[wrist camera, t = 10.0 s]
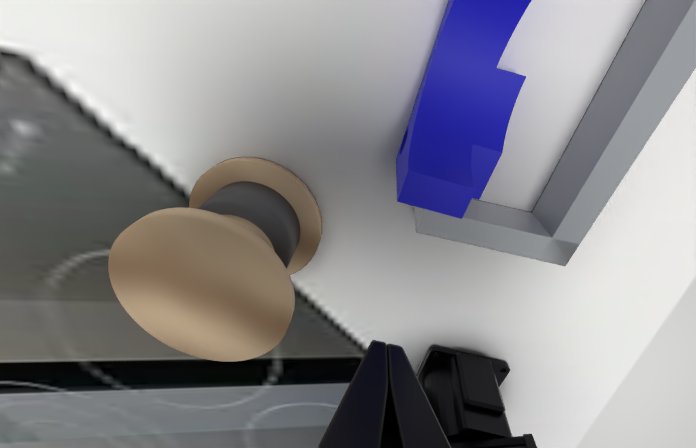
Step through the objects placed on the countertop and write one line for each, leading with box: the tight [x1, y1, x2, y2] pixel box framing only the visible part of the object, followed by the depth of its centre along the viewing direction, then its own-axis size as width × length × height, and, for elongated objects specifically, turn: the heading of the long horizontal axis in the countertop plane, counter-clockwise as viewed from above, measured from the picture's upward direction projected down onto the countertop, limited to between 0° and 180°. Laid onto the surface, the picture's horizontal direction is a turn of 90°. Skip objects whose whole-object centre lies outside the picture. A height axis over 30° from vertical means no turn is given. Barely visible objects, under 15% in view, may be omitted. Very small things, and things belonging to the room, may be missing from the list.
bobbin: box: [108, 157, 322, 361], centre depth 20 cm, size 9×9×8 cm
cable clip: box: [396, 0, 531, 219], centre depth 14 cm, size 12×4×6 cm, turn 166°
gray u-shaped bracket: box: [413, 0, 696, 266], centre depth 15 cm, size 19×8×3 cm, turn 169°
